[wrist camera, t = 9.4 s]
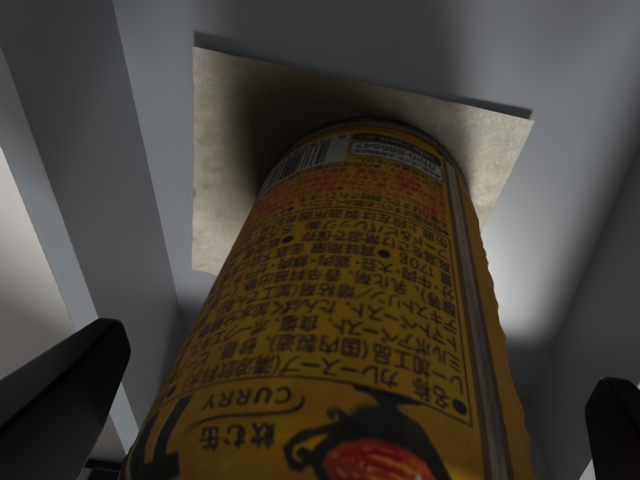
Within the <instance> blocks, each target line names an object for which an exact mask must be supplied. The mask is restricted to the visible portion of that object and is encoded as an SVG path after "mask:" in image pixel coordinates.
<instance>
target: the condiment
mask: <svg viewBox="0 0 640 480" xmlns="http://www.w3.org/2000/svg"><path fill="white" fill-rule="evenodd" d="M193 81H194V176H193V185H194V188H195V191H194V197H193V219H192V223H193V241H192V269H194V270H198V271H203V272H207V273H209V274H212V275H216V276H217V278H216V280H215V282H214V284H213V286H212V288H211V290H210V292H209V294H208V296H207V298H206V300H205V302H204V304H203V306H202V308H201V310H200V312H199V314H198V316H197V318H196V320H195V322H194V324H193V326H192V328H191V330H190V332H189V334H188V336H187V338H186V340H185V341H184V343H183V345H182V347H181V349H180V352H179V354H178V356H177V358H176V360H175V362H174V364H173V366H172V368H171V369H170V371H169V373H168V376H167V378H166V379H165V381H164V383H163V385H162V387H161V389H160V391H159V394H158V396H157V397H156V399H155V400H154V402H153V404H152V406H151V408H150V410H149V413H148V415H147V417H146V419H145V420H144V422H143V424H142V427H141V429H140V431H139V432H138V435H137V438H136V440H135V442H134V444H133V445H132V446H131V447H130V449H129V452H128V454H127V455H126V457H125V458H124V460H123V463H122V468H121V471H120V473H119V476H118V480H538V479H537V478H536V476H535V475H534V473H533V471H532V468H531V465H530V451H531V441H530V438H529V435H528V433H527V431H526V429H525V426H524V418H525V415H524V411H523V407H522V404H521V402H520V400H519V398H518V396H517V394H516V390H515V387H514V383H513V380H512V377H511V374H510V370H509V367H508V356H507V353H506V350H505V342H506V338H507V337H506V335H505V333H504V331H503V329H502V327H501V324H500V321H499V315H498V308H499V304H498V302H497V299H496V296H495V292H494V281H493V278H492V276H491V274H490V272H489V270H488V265H489V262H488V260H487V258H486V256H487V254H486V251H485V249H484V248H483V241H482V238H481V233H482V231H483V228H484V226H485V224H486V222H487V220H488V218H489V216H490V213H491V211H492V209H493V207H494V205H495V203H496V201H497V199H498V196H499V194H500V193H501V191H502V189H503V187H504V185H505V184H506V181H507V179H508V177H509V176H510V174H511V172H512V169H513V167H514V165H515V163H516V161H517V159H518V157H519V155H520V152H521V150H522V148H523V146H524V144H525V142H526V140H527V137H528V135H529V133H530V131H531V128H532V126H533V124H534V122H535V121H533V120H528V119H524V118H519V117H515V116H511V115H507V114H502V113H498V112H494V111H489V110H485V109H481V108H477V107H473V106H469V105H464V104H460V103H455V102H448V101H443V100H440V99H436V98H433V97H429V96H424V95H420V94H415V93H411V92H407V91H398V90H395V89H392V88H388V87H383V86H377V85H372V84H366V83H362V82H359V81H354V80H346V79H340V78H334V77H329V76H324V75H321V74H318V73H315V72H311V71H306V70H301V69H297V68H292V67H288V66H284V65H280V64H276V63H273V62H266V61H261V60H256V59H249V58H243V57H237V56H232V55H228V54H224V53H221V52H216V51H212V50H207V49H203V48H198V47H194V46H193Z"/></svg>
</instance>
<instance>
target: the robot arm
mask: <svg viewBox="0 0 640 480" xmlns="http://www.w3.org/2000/svg"><path fill="white" fill-rule="evenodd" d="M130 356H131V346H130V343H129V340H128V337H127V334H126V330H125V327H124V324H123V322H122V321H121V320H119V319H113V318H105V317H102V318H98V319H96V320H95V321H93V322H91V323H90V324H88V325H87V326H85V327H83V328H82V329H80V330H79V331H77V332H76V333H74V334H72V335H71V336H69V337H68V338H66V339H65V340H63V341H61V342H60V343H58V344H57V345H55V346H54V347H52V348H50V349H49V350H47V351H46V352H44V353H42V354H41V355H39V356H38V357H36V358H35V359H33V360H31V361H30V362H28V363H27V364H25V365H24V366H22V367H20V368H19V369H17V370H16V371H14V372H13V373H11V374H9V375H8V376H6V377H5V378H3V379H1V380H0V480H118V476H119V473H120V471H121V468H122V466H118V465H112V464H105V463H99V462H92V461H87V460H88V458H89V456H90V454H91V452H92V450H93V448H94V446H95V444H96V442H97V440H98V438H99V436H100V434H101V432H102V430H103V427H104V425H105V422H106V420H107V417H108V415H109V412H110V410H111V407H112V404H113V402H114V399H115V396H116V394H117V391H118V389H119V386H120V383H121V381H122V378H123V375H124V373H125V370H126V368H127V365H128V362H129V360H130ZM585 421H586V427H587V432H588V438H589V444H590V450H591V455H592V461H593V467H594V473H595V479H596V480H640V389H639V388H638V387H637V386H635V385H634V384H633V383H632V382H631V381H629V380H627V379H624V378H617V377H608V376H604V377H602V378H600V379H599V381H598V382H597V384H596V386H595V388H594V390H593V392H592V394H591V395H590V397H589V399H588V401H587V403H586V406H585Z"/></svg>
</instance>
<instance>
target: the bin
mask: <svg viewBox="0 0 640 480" xmlns="http://www.w3.org/2000/svg"><path fill="white" fill-rule="evenodd" d="M193 46H194V47H198V48H203V49H207V50H212V51H216V52H221V53H224V54H228V55H232V56H237V57H243V58H249V59H256V60H261V61H266V62H273V63H276V64H280V65H284V66H288V67H292V68H297V69H301V70H306V71H311V72H315V73H318V74H321V75H324V76H329V77H334V78H340V79H346V80H354V81H359V82H362V83H366V84H372V85H377V86H383V87H388V88H392V89H395V90H398V91H407V92H411V93H415V94H420V95H424V96H429V97H433V98H436V99H440V100H443V101H448V102H455V103H460V104H464V105H469V106H473V107H477V108H481V109H485V110H489V111H494V112H498V113H502V114H507V115H511V116H515V117H519V118H524V119H528V120H533V121H535V122H534V124H533V126H532V128H531V131H530V133H529V135H528V137H527V140H526V142H525V144H524V146H523V148H522V150H521V152H520V155H519V157H518V159H517V161H516V163H515V165H514V167H513V169H512V172H511V174H510V176H509V177H508V179H507V181H506V184H505V185H504V187H503V189H502V191H501V193H500V194H499V196H498V199H497V201H496V203H495V205H494V207H493V209H492V211H491V213H490V216H489V218H488V220H487V222H486V224H485V226H484V228H483V231H482V233H481V238H482V241H483V248H484V249H485V251H486V254H487V256H486V258H487V260H488V262H489V265H488V270H489V272H490V274H491V276H492V278H493V281H494V292H495V296H496V299H497V302H498V304H499V308H498V315H499V321H500V324H501V327H502V329H503V331H504V333H505V335H506V337H507V338H506V342H505V350H506V353H507V356H508V367H509V370H510V374H511V377H512V380H513V383H514V387H515V390H516V394H517V396H518V398H519V400H520V402H521V404H522V407H523V411H524V415H525V418H524V426H525V429H526V431H527V433H528V435H529V438H530V441H531V451H530V465H531V468H532V471H533V473H534V475H535V476H536V478H537V479H538V480H596V479H595V473H594V467H593V461H592V455H591V450H590V444H589V438H588V432H587V427H586V421H585V406H586V403H587V401H588V399H589V397H590V395H591V394H592V392H593V390H594V388H595V386H596V384H597V382H598V381H599V379H600V378H602V377H604V376H608V377H617V378H624V379H627V380H629V381H631V382H632V383H633V384H634V385H635V386H637V387H638V388H639V389H640V0H0V146H1V148H2V151H3V153H4V155H5V158H6V160H7V163H8V165H9V168H10V170H11V173H12V175H13V178H14V180H15V183H16V185H17V187H18V190H19V192H20V195H21V197H22V200H23V202H24V205H25V207H26V210H27V212H28V214H29V217H30V219H31V222H32V224H33V227H34V229H35V232H36V234H37V237H38V239H39V242H40V244H41V246H42V249H43V251H44V254H45V256H46V259H47V261H48V264H49V266H50V269H51V271H52V273H53V276H54V278H55V281H56V283H57V286H58V288H59V291H60V293H61V296H62V298H63V301H64V303H65V305H66V308H67V310H68V313H69V315H70V318H71V320H72V323H73V325H74V328H75V330H76V332H77V331H79V330H80V329H82V328H83V327H85V326H87V325H88V324H90V323H91V322H93V321H95V320H96V319H98V318H102V317H105V318H113V319H119V320H121V321H122V322H123V324H124V327H125V330H126V334H127V337H128V340H129V343H130V346H131V356H130V360H129V362H128V365H127V368H126V370H125V373H124V375H123V378H122V381H121V383H120V386H119V389H118V391H117V394H116V396H115V399H114V402H113V404H112V407H111V410H110V412H109V414H110V416H111V419H112V421H113V423H114V426H115V428H116V431H117V433H118V436H119V438H120V441H121V443H122V446H123V448H124V450H125V453H126V455H127V454H128V452H129V449H130V447H131V446H132V445H133V444H134V442H135V440H136V438H137V435H138V432H139V431H140V429H141V427H142V424H143V422H144V420H145V419H146V417H147V415H148V413H149V410H150V408H151V406H152V404H153V402H154V400H155V399H156V397H157V396H158V394H159V391H160V389H161V387H162V385H163V383H164V381H165V379H166V378H167V376H168V373H169V371H170V369H171V368H172V366H173V364H174V362H175V360H176V358H177V356H178V354H179V352H180V349H181V347H182V345H183V343H184V341H185V340H186V338H187V336H188V334H189V332H190V330H191V328H192V326H193V324H194V322H195V320H196V318H197V316H198V314H199V312H200V310H201V308H202V306H203V304H204V302H205V300H206V298H207V296H208V294H209V292H210V290H211V288H212V286H213V284H214V282H215V280H216V278H217V276H216V275H212V274H209V273H207V272H203V271H198V270H194V269H192V241H193V223H192V219H193V197H194V191H195V188H194V185H193V176H194V81H193Z"/></svg>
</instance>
